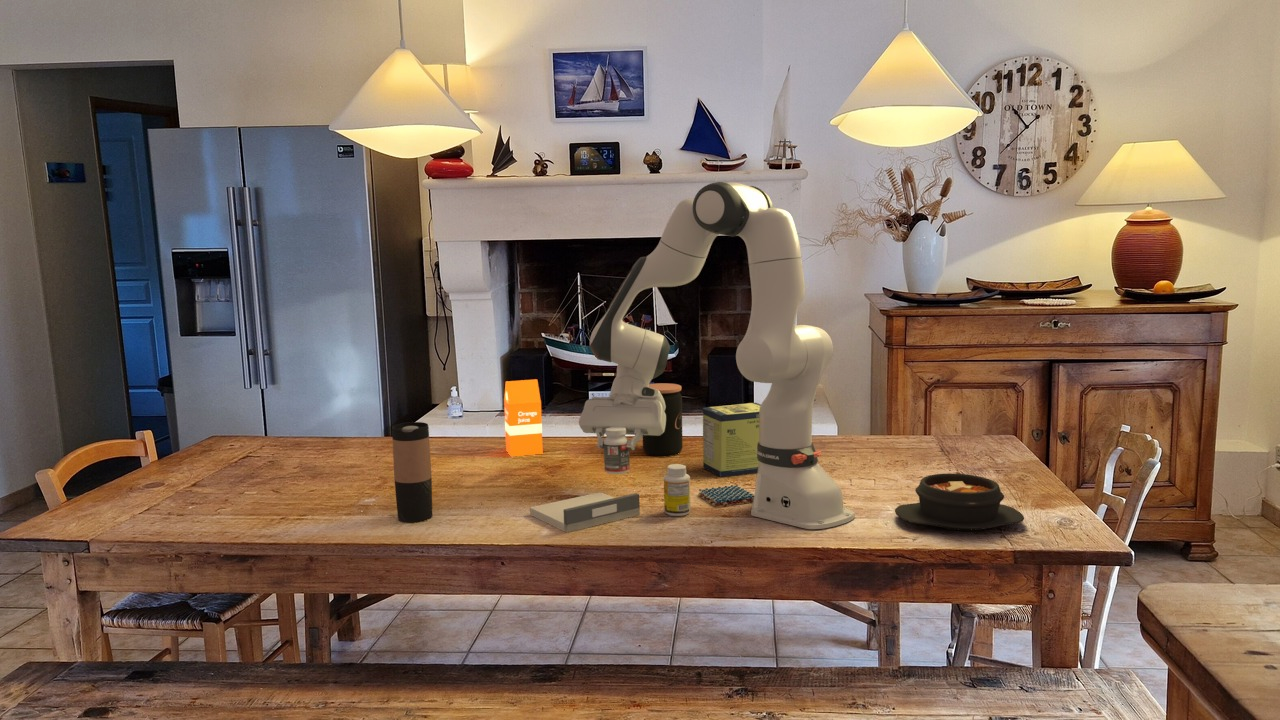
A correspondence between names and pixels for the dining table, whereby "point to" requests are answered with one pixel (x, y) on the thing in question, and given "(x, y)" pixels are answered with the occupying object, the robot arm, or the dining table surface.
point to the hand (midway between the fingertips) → (615, 448)
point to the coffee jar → (667, 423)
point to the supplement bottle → (677, 491)
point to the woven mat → (726, 496)
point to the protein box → (731, 439)
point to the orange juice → (523, 418)
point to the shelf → (587, 511)
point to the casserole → (959, 503)
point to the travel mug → (412, 471)
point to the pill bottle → (616, 451)
